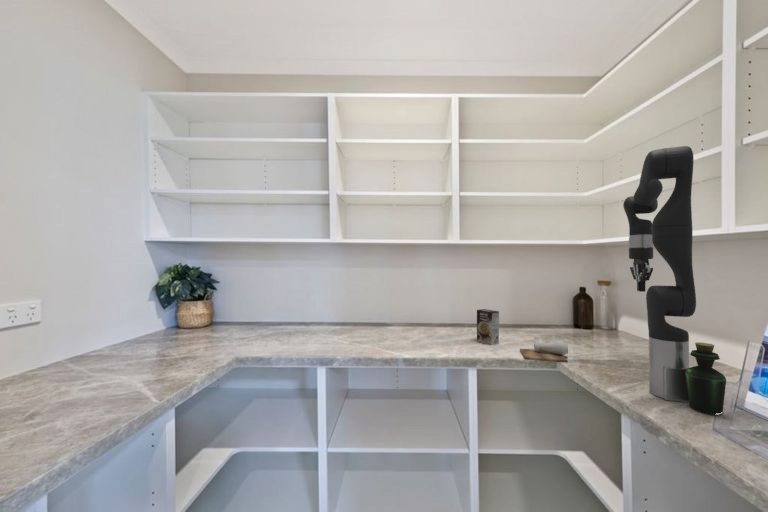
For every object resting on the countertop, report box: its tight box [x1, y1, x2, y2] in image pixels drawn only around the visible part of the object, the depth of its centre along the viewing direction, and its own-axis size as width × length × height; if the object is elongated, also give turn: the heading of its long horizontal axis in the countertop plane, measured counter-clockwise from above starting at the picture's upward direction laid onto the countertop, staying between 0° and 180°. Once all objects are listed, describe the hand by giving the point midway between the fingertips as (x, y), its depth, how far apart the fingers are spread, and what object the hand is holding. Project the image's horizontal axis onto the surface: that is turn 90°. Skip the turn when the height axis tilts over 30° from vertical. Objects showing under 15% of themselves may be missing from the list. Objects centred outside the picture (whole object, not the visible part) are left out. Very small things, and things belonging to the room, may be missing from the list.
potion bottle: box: [685, 342, 727, 416], centre depth 90 cm, size 8×8×18 cm
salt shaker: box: [533, 340, 569, 356], centre depth 141 cm, size 6×6×13 cm
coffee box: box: [476, 308, 500, 346], centre depth 163 cm, size 9×6×16 cm
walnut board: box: [519, 348, 569, 363], centre depth 140 cm, size 16×14×1 cm
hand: (641, 291), depth 127 cm, fingers closed
